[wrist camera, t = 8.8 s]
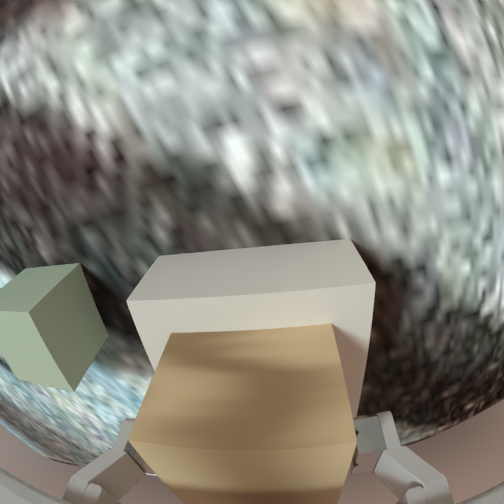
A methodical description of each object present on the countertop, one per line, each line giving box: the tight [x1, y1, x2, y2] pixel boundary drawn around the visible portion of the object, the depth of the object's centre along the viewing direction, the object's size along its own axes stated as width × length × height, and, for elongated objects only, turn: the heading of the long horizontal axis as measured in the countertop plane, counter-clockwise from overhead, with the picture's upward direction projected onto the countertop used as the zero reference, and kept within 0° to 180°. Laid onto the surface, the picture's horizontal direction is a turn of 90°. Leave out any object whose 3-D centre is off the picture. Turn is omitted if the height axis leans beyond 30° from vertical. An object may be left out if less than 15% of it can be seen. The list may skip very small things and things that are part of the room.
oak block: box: [128, 323, 357, 504], centre depth 10 cm, size 6×6×5 cm
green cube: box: [0, 263, 109, 392], centre depth 14 cm, size 5×5×5 cm
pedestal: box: [126, 239, 376, 417], centre depth 14 cm, size 9×9×4 cm
